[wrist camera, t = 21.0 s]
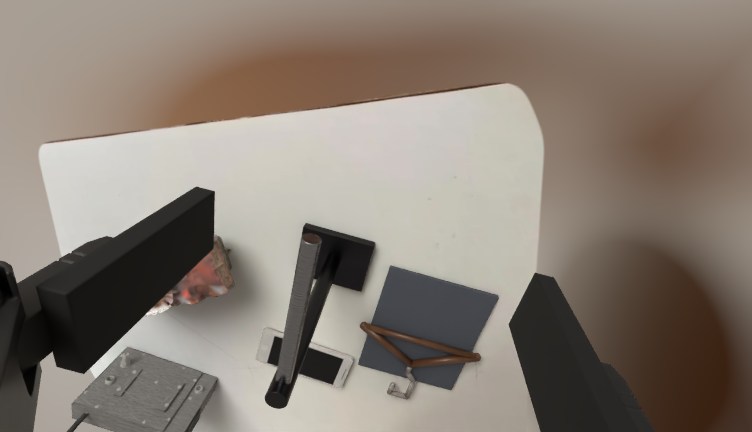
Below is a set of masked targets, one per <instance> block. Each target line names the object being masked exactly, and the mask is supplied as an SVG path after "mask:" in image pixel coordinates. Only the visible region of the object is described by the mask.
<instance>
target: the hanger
mask: <svg viewBox="0 0 752 432" xmlns="http://www.w3.org/2000/svg"><path fill="white" fill-rule="evenodd" d="M360 328H361V329H362V330H363V331H365V332H366V333H367V334H368V335H369V336H371V337H372V338H373V339H374V340H376V341H377V342H378V343H379V344H381V345H382V346H383V347H384V348H386V349H387V350H388V351H389V352H391V353H392V354H393V355H394V356H396V357H397V358H398V359H399V360H401V361H402V362H403V363H404V364H405V365H407V368H406V371H405V374H406V375H407V377H408V378H409V380H410V381H411V382H410V384H409V387H408V389H407V391H406V394H404V393H400V392H397V391H393V389H394V387H395V384H394V383H393V382H392V383H391V384H390V386H389V388H388V391H387V393H388V395H392V396H395V397H399V398H403V399H406V400H407V399H409V397H410V395H411V392H412V390H413V388H414V385H415V383H416V379H415V378H414V377H413V375H412V374H411V369H412V368H417V367H427V366H437V365H446V364H456V363H466V362H476V361H480V359H481V356H480V354H478V353H473V352H469V351H465V350H462V349H458V348H455V347H451V346H447V345H444V344H440V343H437V342H433V341H429V340H426V339H422V338H419V337H415V336H411V335H408V334H404V333H401V332H397V331H393V330H390V329H386V328H383V327H379V326H375V325H372V324H368V323H366V322H362V323H361V324H360ZM381 334H382V335H386V336H390V337H393V338H397V339H400V340H404V341H408V342H411V343H415V344H418V345H422V346H426V347H429V348H433V349H436V350H440V351H444V352H447V353H451V354H454V355H452V356H443V357H434V358H424V359H415V360H412V359H410V358H409V357H408V356H407V355H406V354H404V353H403V352H402V351H401V350H399V349H398V348H397V347H396V346H394V345H393V344H392V343H391V342H390V341H388V340H387V339H386V338H385V337H383V336H382V335H381Z"/></svg>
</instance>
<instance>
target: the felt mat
mask: <svg viewBox="0 0 752 432" xmlns="http://www.w3.org/2000/svg"><path fill="white" fill-rule="evenodd" d="M497 300H498V295H495V294H491V293H487V292H484V291H480V290H477V289H473V288H469V287H466V286H462V285H459V284H455V283H451V282H448V281H444V280H441V279H437V278H433V277H430V276H426V275H423V274H419V273H415V272H412V271H408V270H405V269H401V268H398V267H394V266H390V268H389V271H388V274H387V277H386V280H385V283H384V286H383V290H382V293H381V296H380V299H379V302H378V305H377V308H376V311H375V314H374V317H373V320H372V323H371V324H372V325H375V326H379V327H383V328H386V329H390V330H393V331H397V332H401V333H404V334H408V335H411V336H415V337H419V338H422V339H426V340H429V341H433V342H437V343H440V344H444V345H447V346H451V347H455V348H458V349H462V350H465V351H469V352H471V351H472V349H473V347H474V345H475V343H476V341H477V339H478V337H479V335H480V333H481V331H482V329H483V327H484V325H485V323H486V321H487V320H488V318H489V316H490V314H491V312H492V310H493V308H494V306H495V304H496V302H497ZM381 335H382V334H381ZM382 336H383V337H385V338H386V339H387V340H388V341H390V342H391V343H392V344H393V345H394V346H396V347H397V348H398V349H399V350H401V351H402V352H403V353H404V354H406V355H407V356H408V357H409V358H410V359H412V360H415V359H424V358H434V357H443V356H452V355H454V354H451V353H447V352H444V351H440V350H436V349H433V348H429V347H426V346H422V345H418V344H415V343H411V342H408V341H404V340H400V339H397V338H393V337H390V336H386V335H382ZM464 364H465V363H456V364H446V365H437V366H427V367H417V368H412V369H411V374H412V375H413V377H414V378H415V379H416V381H419V382H423V383H426V384H430V385H434V386H437V387H441V388H445V389H448V390H452V388H453V386H454V384H455V382H456V380H457V378H458V376H459V374H460V372H461V370H462V368H463V366H464ZM358 365H361V366H365V367H368V368H372V369H376V370H379V371H383V372H387V373H390V374H394V375H397V376H401V377H405V378H408V377H407V375H406V374H405V371H406V368H407V365H405V364H404V363H403V362H402V361H401V360H399V359H398V358H397V357H396V356H394V355H393V354H392V353H391V352H389V351H388V350H387V349H386V348H384V347H383V346H382V345H381V344H379V343H378V342H377V341H376V340H374V339H373V338H372V337H371V336H369V335H368V336H367V339H366V342H365V345H364V348H363V351H362V354H361V357H360V360H359V364H358ZM408 379H409V378H408Z"/></svg>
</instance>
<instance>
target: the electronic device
mask: <svg viewBox="0 0 752 432" xmlns="http://www.w3.org/2000/svg"><path fill="white" fill-rule="evenodd" d="M216 382H217V377H214V376H211V375H208V374H205V373H202V372H200V371H197V370H194V369H191V368H188V367H185V366H182V365H179V364H176V363H173V362H170V361H167V360H164V359H161V358H158V357H155V356H152V355H149V354H146V353H143V352H140V351H137V350H134V349H131V348H128V347H127V348H126V349H125V350H124V351H123V352H122V353H121V354H120V355H119V356H118V357H117V358H116V359H115V360H114V361H113V362H112V363H111V364H110V365H109V366H108V367H107V368H106V369H105V370H104V371H103V372H102V373H101V374H100V375H99V376H98V377H97V378H96V379H95V381H93V382H92V383H91V385H90V386H88V388H87V389H86V390H85V391H84V392H83V393H82V394H81V395H80V396H79V397H78V398H77V399H76V400H75V401H74V402H73V403H72V418H74V419H77V421H76V422H75V423H74V424H73V425H72V427H71V428H70V429H69V430H68V431H67V432H73V431H74V430H75V429H76V428H77V426H78V425H79V424H80V423H81V422H82V421H83V422H86V423H89V424H92V425H95V426H98V427H101V428H104V429H107V430H110V431H114V432H192V430H193V428H194V427H195V425H196V423H197V422H198V420H199V418H200V414H201V413H202V411H203V409H204V408H205V406H206V404H207V403H208V401H209V399H210V398H211V396H212V394H213V393H214V391H215V387H216Z"/></svg>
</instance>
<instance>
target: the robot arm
mask: <svg viewBox="0 0 752 432" xmlns="http://www.w3.org/2000/svg"><path fill="white" fill-rule="evenodd" d="M214 200H215V191H211V190H207V189H203V188H199V187H195V188H193V189H192V190H190V191H188V192H187V193H185V194H184V195H182V196H180V197H179V198H177V199H176V200H174V201H172V202H171V203H169V204H168V205H166V206H164V207H163V208H161V209H160V210H158V211H156V212H155V213H153V214H151V215H150V216H148V217H147V218H145V219H143V220H142V221H140V222H139V223H137V224H135V225H134V226H132V227H131V228H129V229H127V230H126V231H124V232H123V233H121V234H119V235H118V236H116V237H114V238H112V237H108V236H106V237H103V238H99V239H96V240H93V241H90V242H87V243H85V244H84V245H82V246H80V247H79V248H77V249H75V250H74V251H72V253H71V254H70V253H68V254H67V255H65V256H63V257H62V258H60V259H59V261H55V262H53V263H51V264H50V265H48V266H47V267H45V268H43V269H41V270H39V271H38V272H36V273H34V274H33V275H31V276H29V277H27V278H26V279H24V280H22V281H21V282H19V283H16V279H15V276H14V272H13V269H12V266H11V265H9V264H8V263H6V262H4V261H0V432H33V429H34V421H35V414H36V407H37V400H38V393H39V386H40V378H41V372H42V370H41V366H40V361H41V360H42V359H44V358H45V357H46V356H47V355H49V354H50V353H51V352H52V351H53V355H54V359H55V362H56V366H57V367H60V368H63V369H67V370H71V371H75V372H78V373H83V374H84V373H85V372H86V371H87V370H88V369H90V368H91V367H92V366H93V365H94V364H95V363H96V362H97V361H98V360H99V359H100V358H101V357H102V356H103V355H104V354H105V353H106V352H107V351H108V350H109V349H110V348H111V347H112V346H113V345H114V344H115V343H116V342H117V341H119V340H120V339H121V338H122V337H123V336H124V335H125V334H126V333H127V332H128V331H129V330H130V329H131V328H132V327H133V326H134V325H135V324H136V323H137V322H138V321H139V320H140V319H141V318H142V317H143V316H144V315H145V314H146V313H148V312H149V311H150V310H151V309H152V308H153V307H154V306H155V305H156V304H157V303H158V302H159V301H160V300H161V299H162V298H163V297H164V296H165V295H166V294H167V293H168V292H169V291H170V290H171V289H172V288H173V287H174V286H175V285H177V284H178V283H179V282H180V281H181V280H182V279H183V278H184V277H185V276H186V275H187V274H188V273H189V272H190V271H191V270H192V269H193V268H194V267H195V266H196V265H197V264H198V263H199V262H200V261H201V260H202V259H203V258H204V257H206V256H207V255H208V254H209V253H210V252H211V251H212V250H213V249H214ZM509 327H510V331H511V334H512V337H513V341H514V344H515V347H516V351H517V354H518V357H519V361H520V364H521V367H522V371H523V374H524V377H525V381H526V384H527V388H528V391H529V394H530V397H531V401H532V404H533V408H534V411H535V414H536V418H537V421H538V424H539V428H540V431H541V432H655V430H654V428H653V427H652V425H651V423H650V422H649V420H648V418H647V417H646V415H645V413H644V412H643V411H641V406H640V405H639V403H638V401H637V400H636V398H634V395H633V393H632V391H631V390H630V388H629V386H628V385H627V383H626V381H625V380H624V379H623V378H622V377H621V375H619V374H618V372H617V371H616V370H615V369H614V368H613V367H612V366H611V365H609V364H606V363H602V362H600V360H599V358H598V356H597V355H596V353H595V351H594V349H593V348H592V346H591V344H590V342H589V340H588V338H587V337H586V335H585V333H584V331H583V329H582V327H581V326H580V324H579V322H578V320H577V318H576V317H575V315H574V313H573V311H572V310H571V308H570V306H569V304H568V302H567V301H566V299H565V297H564V295H563V293H562V291H561V289H560V288H559V286H558V284H557V282H556V280H555V279H554V278H553V277H550V276H545V275H542V274H538V273H535V274H534V276H533V278H532V280H531V282H530V284H529V286H528V287H527V289H526V291H525V293H524V295H523V297H522V299H521V301H520V303H519V305H518V307H517V309H516V311H515V313H514V315H513V317H512V319H511V321H510V323H509Z"/></svg>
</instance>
